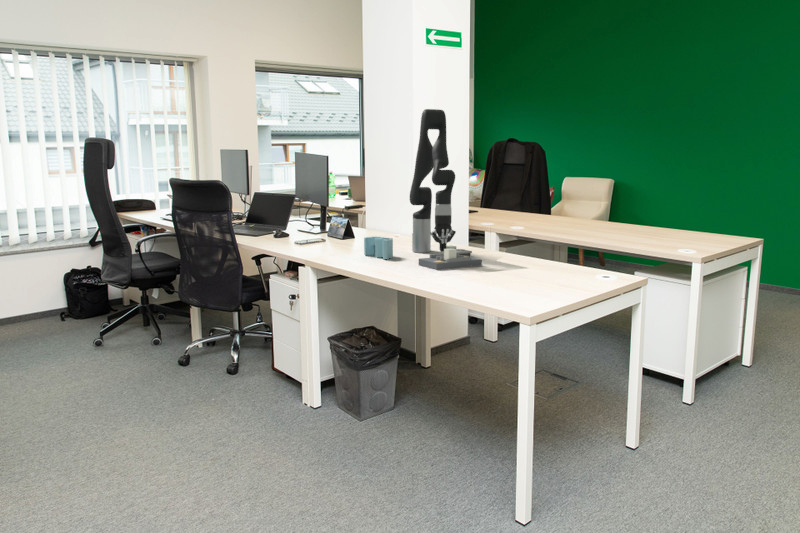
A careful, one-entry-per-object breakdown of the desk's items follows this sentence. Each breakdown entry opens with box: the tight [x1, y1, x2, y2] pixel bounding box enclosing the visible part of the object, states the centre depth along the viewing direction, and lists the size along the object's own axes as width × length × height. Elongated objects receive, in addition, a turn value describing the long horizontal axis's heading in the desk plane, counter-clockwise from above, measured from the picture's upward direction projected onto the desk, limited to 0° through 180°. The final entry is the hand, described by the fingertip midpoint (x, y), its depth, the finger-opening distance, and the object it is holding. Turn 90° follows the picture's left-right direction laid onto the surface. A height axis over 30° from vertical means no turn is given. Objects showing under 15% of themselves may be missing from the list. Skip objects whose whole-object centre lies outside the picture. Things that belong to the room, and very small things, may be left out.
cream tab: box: [443, 248, 457, 261], centre depth 282 cm, size 4×4×5 cm
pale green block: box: [446, 244, 457, 249], centre depth 293 cm, size 4×4×5 cm
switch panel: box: [418, 252, 483, 271], centre depth 288 cm, size 16×24×4 cm, turn 118°
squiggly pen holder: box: [363, 236, 394, 260], centre depth 316 cm, size 18×10×9 cm, turn 49°
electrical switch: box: [456, 248, 473, 257], centre depth 310 cm, size 9×5×9 cm
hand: (442, 251), depth 291 cm, fingers closed
